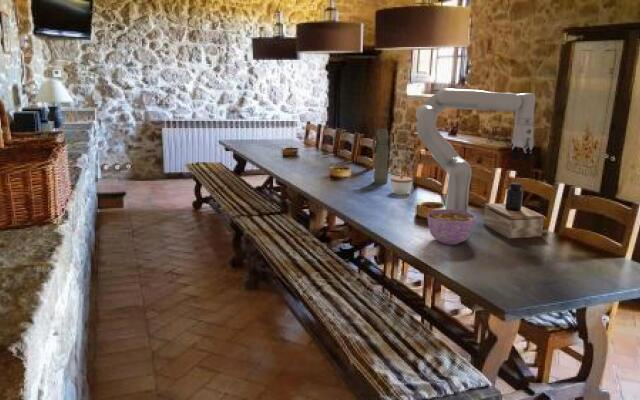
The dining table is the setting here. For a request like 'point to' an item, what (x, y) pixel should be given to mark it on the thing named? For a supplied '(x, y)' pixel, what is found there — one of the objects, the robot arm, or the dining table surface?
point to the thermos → (381, 156)
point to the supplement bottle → (514, 197)
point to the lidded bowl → (401, 184)
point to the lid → (514, 212)
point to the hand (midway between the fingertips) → (520, 160)
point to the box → (513, 225)
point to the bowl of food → (450, 225)
